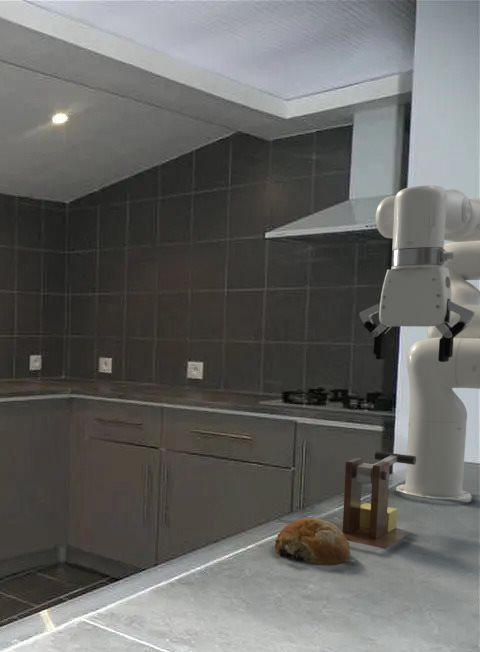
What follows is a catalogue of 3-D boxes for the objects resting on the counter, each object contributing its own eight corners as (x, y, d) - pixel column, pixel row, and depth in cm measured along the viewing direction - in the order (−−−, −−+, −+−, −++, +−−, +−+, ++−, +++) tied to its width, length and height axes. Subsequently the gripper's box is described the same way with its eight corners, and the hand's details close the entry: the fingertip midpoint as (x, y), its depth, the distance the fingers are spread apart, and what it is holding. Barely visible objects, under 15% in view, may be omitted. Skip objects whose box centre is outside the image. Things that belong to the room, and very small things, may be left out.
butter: (364, 521, 121) (365, 502, 121) (396, 527, 118) (397, 508, 117) (354, 525, 119) (355, 507, 119) (388, 532, 115) (389, 513, 115)
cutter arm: (377, 461, 125) (377, 447, 125) (416, 466, 121) (416, 452, 120) (343, 478, 116) (344, 464, 115) (384, 485, 111) (384, 470, 111)
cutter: (345, 526, 123) (349, 452, 122) (411, 539, 115) (415, 461, 114) (316, 540, 115) (319, 462, 114) (384, 556, 107) (388, 472, 106)
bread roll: (349, 596, 101) (377, 546, 100) (284, 565, 101) (311, 515, 100) (317, 571, 111) (341, 526, 110) (258, 543, 111) (282, 498, 110)
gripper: (483, 258, 119) (476, 361, 120) (370, 264, 132) (366, 357, 133) (470, 256, 114) (463, 363, 115) (354, 262, 127) (350, 359, 128)
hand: (411, 360), depth 124 cm, fingers open, 9 cm apart
